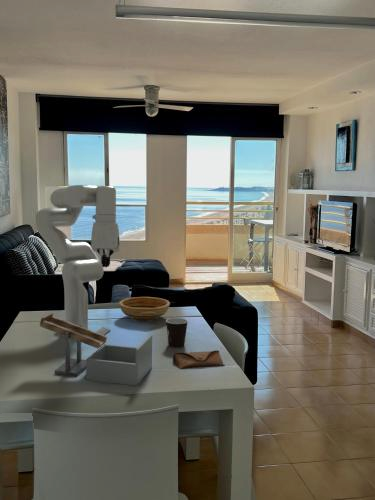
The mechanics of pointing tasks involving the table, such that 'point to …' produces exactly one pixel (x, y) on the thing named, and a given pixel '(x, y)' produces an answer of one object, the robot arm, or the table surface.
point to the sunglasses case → (197, 359)
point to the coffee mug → (176, 332)
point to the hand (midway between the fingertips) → (105, 266)
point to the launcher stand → (71, 360)
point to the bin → (120, 363)
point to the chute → (75, 331)
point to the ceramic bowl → (144, 308)
